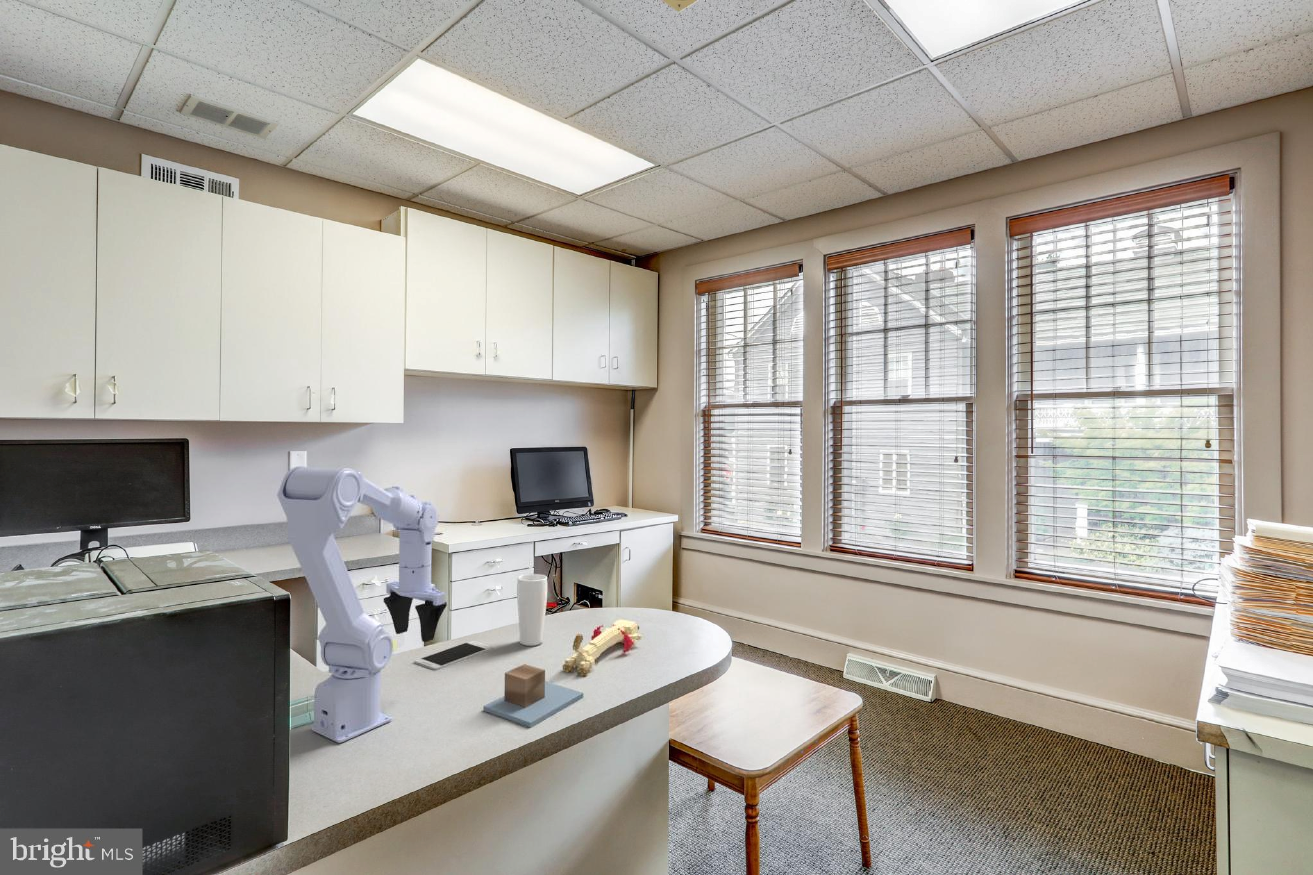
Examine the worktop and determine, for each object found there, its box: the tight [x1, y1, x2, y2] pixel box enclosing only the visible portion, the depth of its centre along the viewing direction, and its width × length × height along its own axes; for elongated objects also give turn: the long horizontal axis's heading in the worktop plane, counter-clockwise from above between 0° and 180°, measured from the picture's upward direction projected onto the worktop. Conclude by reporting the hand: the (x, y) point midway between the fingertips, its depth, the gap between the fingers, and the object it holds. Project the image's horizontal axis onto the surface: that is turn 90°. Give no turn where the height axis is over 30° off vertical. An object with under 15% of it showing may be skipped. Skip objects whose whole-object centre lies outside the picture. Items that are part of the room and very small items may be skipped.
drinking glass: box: [516, 573, 548, 647], centre depth 145 cm, size 7×7×15 cm
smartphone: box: [413, 639, 494, 671], centre depth 137 cm, size 7×15×1 cm, turn 147°
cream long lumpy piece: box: [562, 619, 643, 677], centre depth 139 cm, size 10×9×25 cm
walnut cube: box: [503, 663, 546, 708], centre depth 114 cm, size 5×5×5 cm
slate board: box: [482, 680, 584, 728], centre depth 114 cm, size 14×11×1 cm
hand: (414, 636), depth 120 cm, fingers open, 7 cm apart
